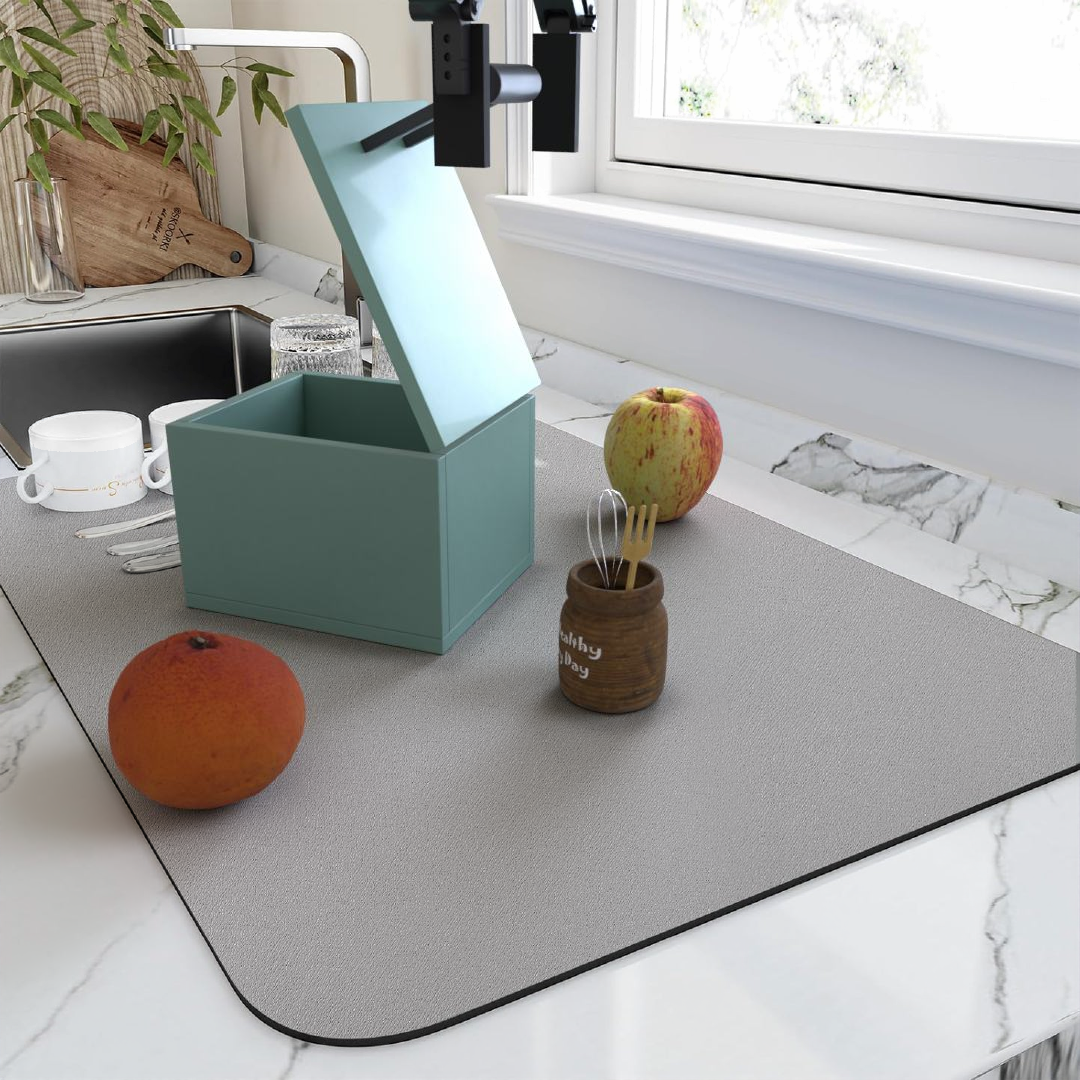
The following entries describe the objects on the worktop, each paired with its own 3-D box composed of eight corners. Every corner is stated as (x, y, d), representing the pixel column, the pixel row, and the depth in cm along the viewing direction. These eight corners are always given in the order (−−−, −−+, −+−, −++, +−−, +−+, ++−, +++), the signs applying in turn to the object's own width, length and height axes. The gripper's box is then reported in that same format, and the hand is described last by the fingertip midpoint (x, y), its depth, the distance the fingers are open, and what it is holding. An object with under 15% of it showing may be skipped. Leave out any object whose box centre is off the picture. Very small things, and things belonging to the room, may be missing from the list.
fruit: (327, 817, 53) (315, 661, 50) (122, 858, 50) (97, 695, 47) (294, 722, 60) (283, 582, 57) (115, 753, 58) (93, 607, 55)
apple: (735, 530, 87) (745, 400, 83) (620, 539, 85) (625, 407, 81) (693, 490, 95) (700, 370, 91) (587, 498, 93) (590, 376, 89)
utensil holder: (639, 657, 68) (648, 462, 63) (685, 710, 62) (698, 499, 57) (543, 672, 66) (545, 471, 61) (581, 727, 60) (587, 511, 56)
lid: (282, 112, 59) (442, 23, 55) (413, 106, 72) (551, 33, 68) (430, 452, 63) (590, 395, 59) (529, 388, 76) (666, 338, 72)
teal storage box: (185, 606, 73) (164, 424, 69) (309, 526, 86) (298, 369, 82) (442, 655, 68) (438, 459, 63) (534, 562, 81) (535, 394, 76)
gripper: (482, -412, 43) (486, 178, 51) (657, -249, 65) (641, 148, 73) (308, -388, 46) (338, 171, 54) (533, -239, 68) (530, 145, 76)
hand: (513, 159), depth 63 cm, fingers open, 13 cm apart
